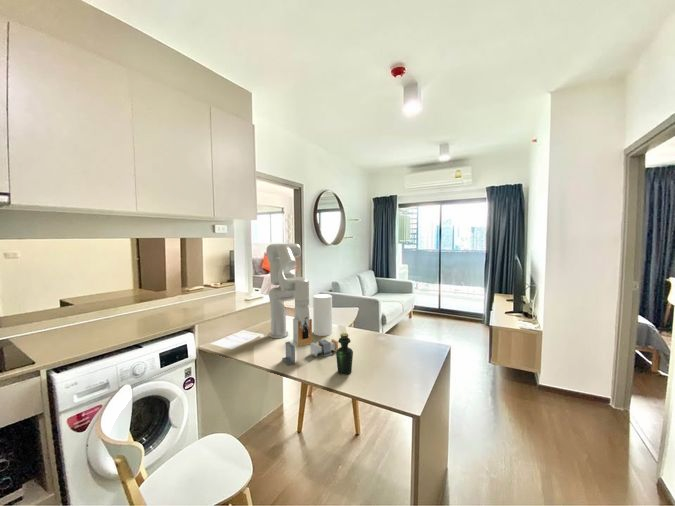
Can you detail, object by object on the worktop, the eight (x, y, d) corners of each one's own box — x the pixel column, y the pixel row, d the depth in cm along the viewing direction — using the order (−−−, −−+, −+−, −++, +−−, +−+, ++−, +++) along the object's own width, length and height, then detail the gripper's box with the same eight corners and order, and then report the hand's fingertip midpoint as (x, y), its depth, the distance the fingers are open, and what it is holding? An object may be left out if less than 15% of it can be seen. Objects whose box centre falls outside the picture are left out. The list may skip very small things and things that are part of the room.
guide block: (316, 351, 159) (316, 340, 158) (324, 349, 161) (324, 338, 161) (324, 356, 151) (324, 345, 151) (332, 354, 154) (332, 343, 153)
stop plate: (282, 359, 148) (281, 343, 147) (289, 358, 150) (289, 341, 149) (287, 365, 141) (287, 348, 140) (295, 363, 143) (294, 346, 142)
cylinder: (328, 336, 182) (328, 298, 180) (310, 334, 185) (310, 297, 184) (334, 330, 194) (334, 294, 192) (317, 328, 197) (317, 293, 196)
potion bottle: (340, 377, 129) (340, 338, 128) (333, 369, 137) (333, 333, 136) (356, 373, 132) (356, 335, 131) (348, 366, 140) (348, 330, 139)
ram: (310, 353, 155) (310, 342, 155) (333, 347, 162) (332, 337, 162) (315, 356, 150) (315, 345, 150) (338, 351, 157) (338, 340, 157)
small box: (298, 346, 144) (297, 321, 143) (293, 342, 149) (292, 318, 149) (312, 343, 148) (312, 318, 148) (306, 339, 154) (306, 316, 153)
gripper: (289, 300, 153) (289, 333, 154) (302, 307, 138) (302, 343, 139) (301, 299, 157) (302, 330, 158) (315, 305, 142) (316, 340, 143)
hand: (302, 336), depth 149 cm, fingers closed on small box, 6 cm apart
